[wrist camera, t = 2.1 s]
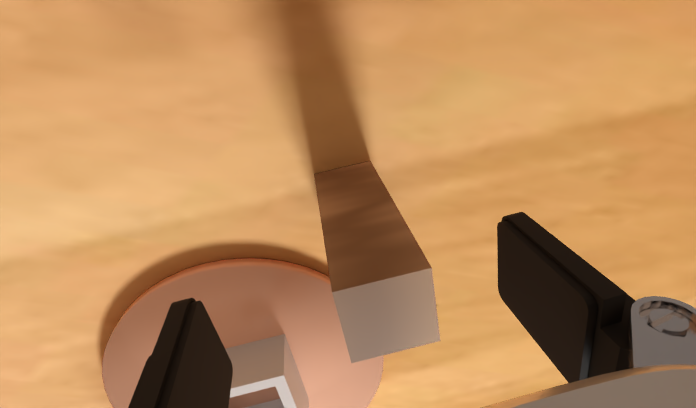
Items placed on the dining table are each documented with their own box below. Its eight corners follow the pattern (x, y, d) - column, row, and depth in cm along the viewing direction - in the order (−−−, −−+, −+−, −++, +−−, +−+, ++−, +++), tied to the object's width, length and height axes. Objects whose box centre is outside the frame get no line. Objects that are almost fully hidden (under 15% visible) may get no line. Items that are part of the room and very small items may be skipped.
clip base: (355, 227, 20) (367, 266, 17) (396, 417, 27) (410, 470, 24) (50, 300, 19) (2, 355, 16) (175, 474, 26) (158, 537, 23)
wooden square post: (370, 160, 18) (431, 267, 10) (379, 210, 20) (440, 340, 12) (314, 174, 18) (331, 292, 10) (326, 223, 20) (351, 363, 11)
